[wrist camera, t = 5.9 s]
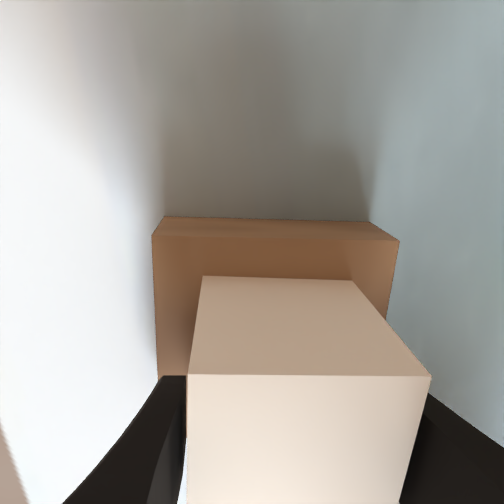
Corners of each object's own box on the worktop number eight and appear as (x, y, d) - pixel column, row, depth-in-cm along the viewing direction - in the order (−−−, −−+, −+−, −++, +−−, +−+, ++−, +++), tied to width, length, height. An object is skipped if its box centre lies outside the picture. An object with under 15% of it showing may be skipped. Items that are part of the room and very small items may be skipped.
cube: (332, 401, 14) (387, 543, 9) (200, 400, 13) (186, 549, 9) (352, 280, 12) (432, 376, 8) (202, 275, 12) (187, 374, 7)
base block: (341, 383, 17) (364, 433, 14) (171, 385, 17) (160, 438, 14) (365, 219, 15) (399, 241, 12) (165, 214, 14) (151, 235, 11)
